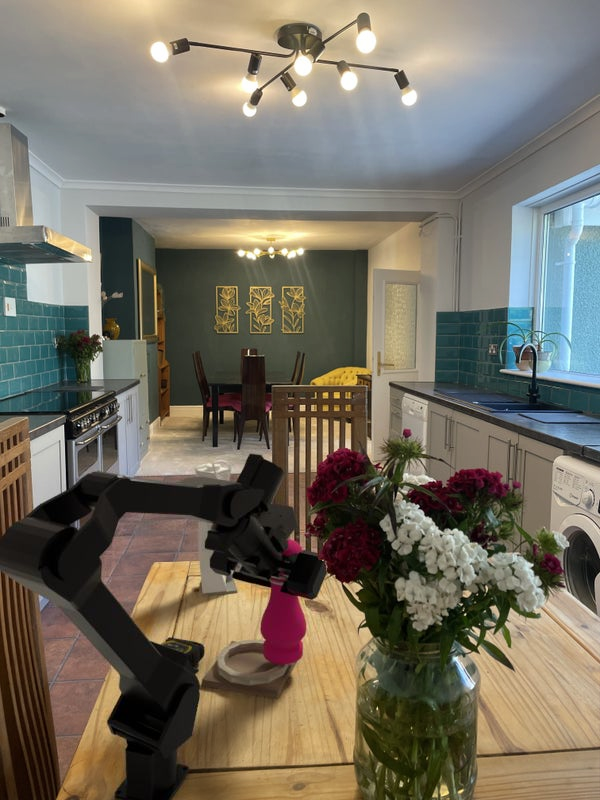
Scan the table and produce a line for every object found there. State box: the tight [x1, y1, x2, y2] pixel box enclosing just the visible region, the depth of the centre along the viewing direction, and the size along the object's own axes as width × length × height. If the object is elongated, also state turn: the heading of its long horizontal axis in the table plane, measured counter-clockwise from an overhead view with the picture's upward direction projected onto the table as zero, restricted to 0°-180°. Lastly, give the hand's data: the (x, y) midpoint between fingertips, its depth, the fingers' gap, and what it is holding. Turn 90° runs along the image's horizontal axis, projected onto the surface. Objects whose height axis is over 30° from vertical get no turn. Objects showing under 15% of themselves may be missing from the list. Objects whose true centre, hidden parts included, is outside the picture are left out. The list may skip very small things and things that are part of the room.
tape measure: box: [160, 636, 206, 669], centre depth 94 cm, size 7×7×4 cm
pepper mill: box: [259, 534, 307, 664], centre depth 93 cm, size 7×7×20 cm
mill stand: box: [201, 638, 298, 700], centre depth 94 cm, size 12×12×2 cm
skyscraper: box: [194, 459, 238, 597], centre depth 123 cm, size 8×8×28 cm
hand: (288, 589), depth 94 cm, fingers closed on pepper mill, 5 cm apart
